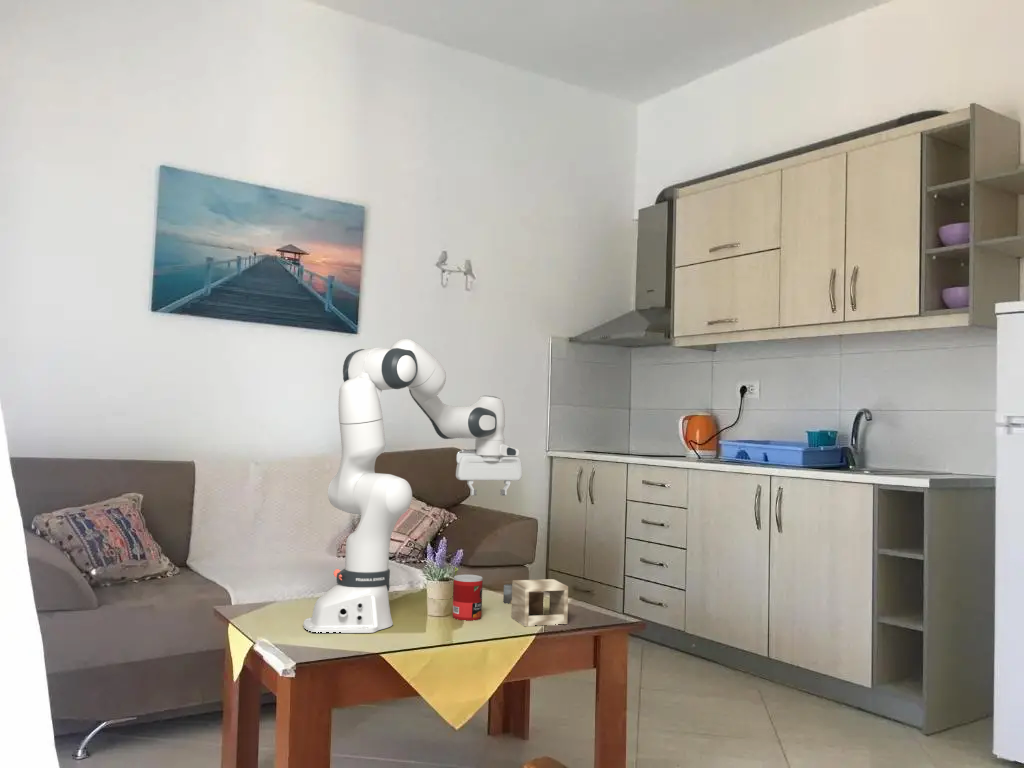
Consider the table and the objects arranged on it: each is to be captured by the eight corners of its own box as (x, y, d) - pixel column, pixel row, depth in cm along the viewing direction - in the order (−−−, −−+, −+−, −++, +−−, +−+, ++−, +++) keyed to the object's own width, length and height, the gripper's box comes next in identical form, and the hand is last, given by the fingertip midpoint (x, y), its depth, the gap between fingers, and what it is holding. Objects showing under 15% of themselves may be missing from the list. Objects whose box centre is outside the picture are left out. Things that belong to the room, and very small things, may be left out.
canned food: (477, 622, 226) (479, 580, 227) (448, 619, 228) (450, 578, 229) (484, 616, 234) (485, 575, 234) (456, 614, 235) (457, 573, 236)
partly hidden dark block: (523, 615, 236) (523, 593, 236) (498, 601, 254) (498, 581, 254) (543, 614, 238) (543, 592, 238) (516, 600, 256) (517, 580, 256)
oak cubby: (524, 626, 222) (525, 587, 223) (511, 617, 233) (512, 580, 233) (567, 624, 226) (568, 586, 227) (552, 615, 236) (553, 579, 237)
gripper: (459, 449, 253) (457, 496, 252) (524, 450, 259) (523, 496, 258) (453, 448, 259) (452, 494, 258) (517, 449, 265) (516, 494, 264)
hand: (488, 495), depth 258 cm, fingers open, 8 cm apart
